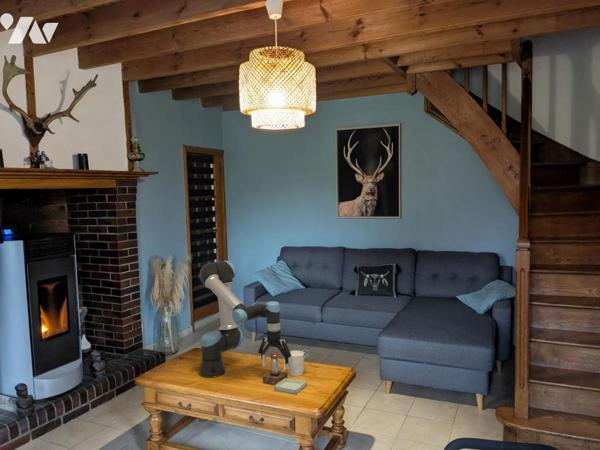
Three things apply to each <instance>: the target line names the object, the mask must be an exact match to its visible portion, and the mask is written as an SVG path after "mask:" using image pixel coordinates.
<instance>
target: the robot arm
mask: <svg viewBox="0 0 600 450" xmlns="http://www.w3.org/2000/svg"><path fill="white" fill-rule="evenodd" d="M236 274H237V270H236V267H235V265H234V263H232V261H229V260H220V261H214V262H208V263H205V264H204V265H203V266H202V267H201V269H200V271H199V278H200V281H201V283H202V284H203V286H204V287H205V288H207V289H209V290H210V291H212V293H213V294H215V296H216V297H217V302H218V309H219V310H218V311H219V319H220V320H219V321H220V322H219V323H220V326H219V327H218V330H213V331H207V332H205V333H203V334H202V336H201V339H200V347H201V364H200V368H199V370H198V371H199V373H200V374H199V376H200V375H202V376H201V377H203V376H207V377H206V378H214V377H213V376H217V377H219V376H218V375H220V376H223V375H224V374H225V373H226V366H225V363H224V361H223V354H222V353H225V352H228V351H231V350H235V349H237V348H238V347H240V346H241V345H242V343H243V341H244V335H243V332H242V330H241V328H239V327H238V325H237V324H241V323H245V322H248V321H251V320H255V319H256V320H257V319H260V318H264V319H266V330H267V331H266V336H264V337H262V341H261V344H260V346H259V348H258V351H257V353H258V354H260V355H261V356H260V357H261V358H260V359H261V361H262V367H263V368H264V367H266V366H267V353H266V352H267V351H268V350H269V349H270V347H271V348H277V349H278V350H279V352H280V353H281V354H282V356H283V357H284V358H283V370H284V371H286V370H288V358H289V357H291V356H292V355H291V353H290V351H291V350H290V349H289V347H288V345H287V340H286V339H285V338H284V339H281V337H282V335H281V334H282V332H281V328H282V327H281V308H280V307H281V305H280V302H278V301H275V300H273V301H268V302H266V304H265V303H261V302H253V303H252V304H251V305H249V306H246V305H245V304H244V303H242V301H241V300H240V299H239V298H238V297H237V296H236V295H235V294H234V293H233V292H232V285H233V283H234V278H235V277H236ZM266 343H267V344H266ZM222 374H223V375H222Z"/></svg>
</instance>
